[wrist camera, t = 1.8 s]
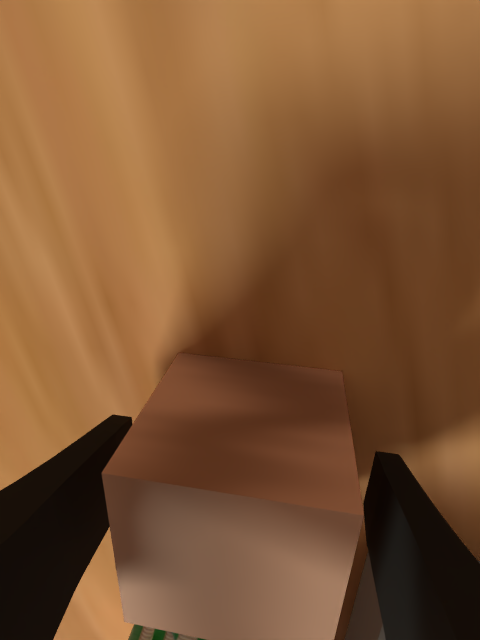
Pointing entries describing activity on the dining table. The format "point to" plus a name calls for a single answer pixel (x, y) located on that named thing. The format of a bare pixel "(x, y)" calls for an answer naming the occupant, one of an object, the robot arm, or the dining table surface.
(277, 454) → the terracotta cube
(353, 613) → the charcoal slab
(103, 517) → the robot arm
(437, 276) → the dining table surface
